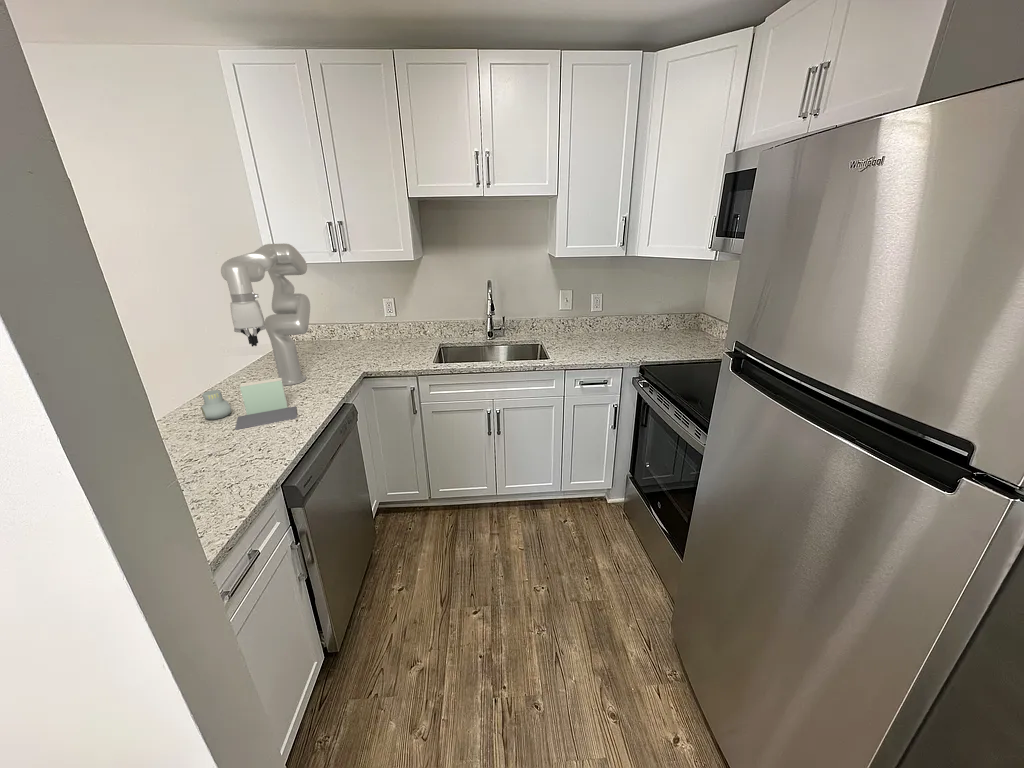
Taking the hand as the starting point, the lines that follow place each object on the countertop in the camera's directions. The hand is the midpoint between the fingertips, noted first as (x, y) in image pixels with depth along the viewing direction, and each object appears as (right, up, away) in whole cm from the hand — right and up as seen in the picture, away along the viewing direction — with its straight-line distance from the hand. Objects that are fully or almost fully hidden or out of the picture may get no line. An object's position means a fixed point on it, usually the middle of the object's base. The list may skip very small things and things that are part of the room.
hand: (254, 345), depth 165 cm
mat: (+8, -28, -5) cm, 30 cm away
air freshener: (-12, -28, -2) cm, 31 cm away
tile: (+4, -26, +2) cm, 26 cm away
